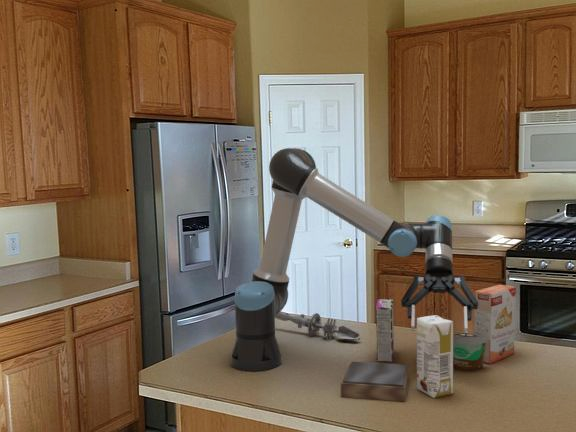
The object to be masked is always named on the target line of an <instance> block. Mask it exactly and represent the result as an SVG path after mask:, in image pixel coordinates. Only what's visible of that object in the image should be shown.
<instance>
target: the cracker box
mask: <svg viewBox="0 0 576 432" xmlns="http://www.w3.org/2000/svg"><path fill="white" fill-rule="evenodd" d="M516 294H517V287H516V286H513V285H505V284H496V285H494V286H489V287H486V288H485V287H484V288H482V289H478V290H475V291H474V297H475V298H476V300H477V301H478V308H477V309H474V328H473V329H474V330H473V331H474V332H473V335H479V336H482V335H485V334H486V335H487V337H488V341H487V342H486V343H485V350H484V359H483V363H486V364H490V365H491V364H493V363H495V362H497V361H501V360H503V359H504V358H506V357H510V356H511V355H512V356H513V355H514V354H515V335H516V334H515V333H516V332H515V331H516V299H517V298H516V297H517V295H516Z"/></svg>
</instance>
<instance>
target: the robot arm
mask: <svg viewBox="0 0 576 432" xmlns="http://www.w3.org/2000/svg"><path fill="white" fill-rule="evenodd" d="M315 161H316V160H315V159H314V157H313V156H312V154H310V153H309V152H308V151H306V150H304V149H301V148H296V147H295V148H294V147H293V148H290V147H289V148H288V147H287V148H286V147H285V148H283V149H280V150H278V151H276V153H274V154H273V156H272V157H271V159H270V161H269V164H268V165H269V166H268V168H269V169H268V171H269V175H270V177H271V179H272V184H271V190H272V191H273V193H274V198H273V202H272V206H271V207H272V208H271V212H270V216H269V221H268V224H267V225H268V226H267V229H266V234H265V235H266V236H265V239H264V240H265V241H264V243H263V244H264V245H263V249H262V254H261V259H260V262H259V264H260V265H259V267H258V268H256V269H254V271H253V274H252V278H251V281H249V282H246V283H242V284H240V285H239V286H237V287H236V289H235V291H234V298H233V300H234V301H233V303H234V311H235V312H234V313H235V315H234V316H235V334H236V335H235V337H236V338H235V342H234V344H233V349H232V352H231V355H230V365H231V367H233V368H235V369H237V370H242V371H247V372H249V371H251V372H252V371H253V372H255V371H257V372H258V371H259V372H260V371H267V370H271V369H274V368H277V367H279V366H280V365H281V364H282V362H283V361H282V360H283V359H282V351H281V348H280V346H279V344H278V340H277V337H276V321H275V320H276V318H275V316H276V315H277V314H278V313H279V312H280V311H283V309H284V308H285V306H286V305H287V303H288V299H289V291H288V289H289V284H290V283H289V282H290V277H289V276H288V274H287V269H288V265H289V261H290V258H291V257H290V256H291V251H292V248H293V243H294V238H295V233H296V229H297V226H298V225H297V224H298V220H299V215H300V211H301V206H302V203H303V202H302V201H303V200H304V199H305V198H307V199H309V200H310V201H313V202H314V203H315V204H317V205H319V206H321V208H324V209H325V210H327V211H329V212H330V213H332V214H334V216H337V217H338V218H340V219H341V220H343V221H345V222H346V223H348V224H350V226H353V227H354V228H356V229H357V230H359V231H360V232H362V233H364V234H366V235H367V236H368V237H370V238H372V239H374V240H376V241H377V242H379V243H380V244H381V245H383V246H384V247H386V248H388V249H389V251H390V252H391V253H392V254H393V255H395V256H397V257H400V258H401V257H402V258H403V257H404V258H405V257H408V256H409V255H411V254H412V253H413V252H414V251H415V250H417V249H420V250H421V249H423V250H424V249H425V266H424V267H425V269H424V270H425V271H424V273H425V274H424V276H423V277H422V276H419V275H418V274H414V276H413V281H412V282H411V284H410V286H409V287H408V289H407V290H406V292H405V293H404V295H403V297H402V298H401V299H400V303H401V307H403V308H406V309H407V314H406V315H407V319H410V320H411V325H410V327H411V331H412V332H415V330H416V329H415V328H416V326H415V325H416V306H417V305H418V304H419V303H420V302H421V301H422V300H423V299H424V298H425V297H426V296H427V295H429V294H430V293H431V292H432V293H434V294H437V293H440V294H445V293H448V294H449V295H450V296H452V297H453V299H455V300H456V302H458V303H459V304H460V305H461V306H462V307H463V328H464V329H463V331H464V332H463V333H468V332H469V331H468V329H469V327H468V325H469V323H468V321H469V322H472V313H473V312H472V311H473V310H475V309H477V308H478V301H477V300H476V298H475V294H474V293H473V292H472V290H471V289H470V287H469V285H468V284H467V283H466V279H465V276H464V275H460V276H459V277H454V275H453V272H454V271H453V269H454V268H453V267H454V265H453V230H452V229H453V228H452V222H451V220H450V219H449V218H448V217H447V216H445V215H439V214H436V215H433V216H430V217H429V218H427V220H426V222H424V223H408V222H407V223H405V222H397V221H396V220H395V219H393V218H392V217H390V216H388V215H387V214H385V213H383V212H382V211H380V210H378V209H377V208H375V207H373V206H372V205H370V204H368V203H367V202H366V201H364V200H363V199H360V198H359V197H357V196H356V195H354V194H353V193H351V192H349V191H347V190H346V189H345V188H343V187H342V186H340V185H338V184H336V183H335V182H334V181H331V180H330V179H329V178H327V177H325V176H323V175H322V174H320V172H319V169H318V168H317V165H316V162H315ZM422 283H424V285H423V287H422V288H421V289H420V290H419V291H418V292H417V293H416V291H417V289H418V287H419V286H421V284H422ZM455 284H457V286H458V287H460V289H461V291H462V293H463V294H462V293H461V292H459V290H458V289H456V288H455V286H454V285H455ZM414 294H415V295H414Z"/></svg>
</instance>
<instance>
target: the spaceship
mask: <svg viewBox="0 0 576 432" xmlns="http://www.w3.org/2000/svg"><path fill="white" fill-rule="evenodd" d="M276 319H277V320H279V321H284V322H287V321H290V322H292V323H293V324H295V325H297V328H299V329H302V327H305V328H307V331H308V332H307V333H308V334H309V336H310V337H314V335H315V336H316V335H317V334H318V332H319V331H320V329H321V332H323V339H325V338H326V340H332V337H333V336H335V335H336V336H337V337H338V338H339V339H341V340H342V339H343V340H344V341H359V340H361V339H360V337H361V335H362V334H360V333H359V332H357V331H355V330H354V329H352V328H350V327H347V326H345V325H341V326H338V327H337V326H336V323H337V322H336V321H337V320H336V319H333V318H330V317H328V318H327V321H326V322H323V324H324V325H323V324H322V318H321V315H320V314H319V313H314V314H312V315H311V316H310V318H307V317H306V316H305V314H303V313H301V314H300V316H299V315H290V314H289V313H288V312H286V311H285V312H284V311H283V310H281V311H280V312H279V313H278V314H277V315H276V316H275V320H276Z"/></svg>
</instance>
